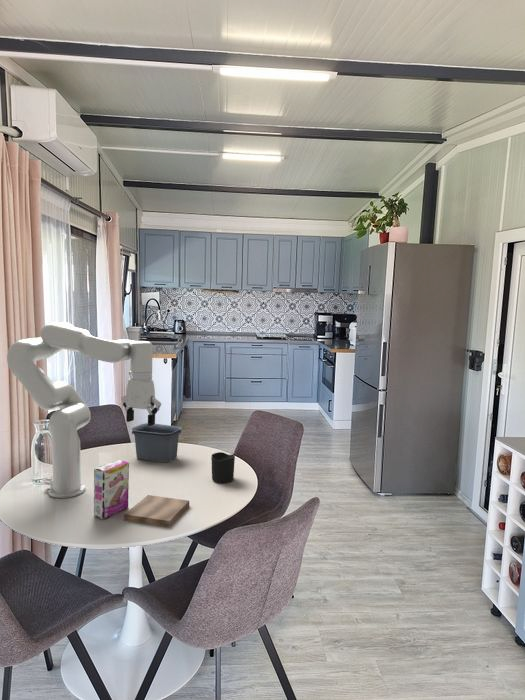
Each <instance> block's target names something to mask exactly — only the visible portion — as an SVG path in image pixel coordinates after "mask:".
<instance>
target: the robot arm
mask: <svg viewBox="0 0 525 700" xmlns="http://www.w3.org/2000/svg"><path fill="white" fill-rule="evenodd" d="M39 332H40V333H39V336H40V337H31V338H25V339H24V338H23V339H20V340H16V341H15V342H13V343H12V344H11V345H10V346H9V348H8V350H7V354H6V361H7V362H6V363H7V366H8V368H9V370H10V371H11V373H12V374H13V376H15V378H16V379H17V380H18V381H19V382H20V383H21V384H22V386H23V388H24V389H25V390H26V391H27V393H28V394H29V395H30V397H31V398H32V400H33V401H34V402H35V403H36V405H37V406H38V407H39V408H40V409H41V410H44V411H50V410H51V411H52V410H54V409H57V408H58V409H57V410H56V411H55V412H53V413H52V414H51V416H50V418H49V421H48V426H49V432H50V433H49V434H50V436H51V449H52V451H51V452H52V477H50V476H49V477H47V478H46V480H45V481H44V484H45V486H50V487H49V489H48V495H49V496H50V497H52V498H55V499H56V498H57V499H68V498H73V497H76V496H80V495H81V494H83V493H84V492H85V490H86V485H85V484H84V483H82V480H81V478H82V477H81V476H82V475H81V473H82V472H81V470H82V469H81V464H82V463H81V440H80V437H79V434H78V430H80V429H81V428H83V427H85V426H86V425H88V423H90V421H91V417H92V416H91V415H92V413H91V410H90V408H89V406H88V404H86V402H85V400H84V399H83V398H82V397H81V396H80V394H79V393H78V391H77V390H76V388H74V386H73V385H71V384H70V383H68V382H67V381H63V380H57V381H52V379H50V377H49V376H48V375H47V374H46V372H45V371H44V370H43V369H42V368H41V367H40V366H38V365H37V364H35V362H37V361H42V360H43V361H44V360H47V359H48V358H50V357H52V356H54V355H55V354H58V353H59V352H61V351H62V350H67V351H71V352H74V353H80V354H81V355H83V356H85V357H87V358H90V359H93V360H96V361H101V362H106V363H111V364H113V363H115V364H116V363H119V362H123V361H127V360H130V365H129V366H130V368H129V369H130V371H128V375H129V376H130V377H129V378H128V381H127V383H126V390H125V395H123V396H122V397H120V399H121V402H122V406H123V407H124V410H125V411H126V416H125V418H126V423H130V422H132V421H135V410H134V409H139V410H146V411H147V413H148V414H147V423H148V426H151V425H154V424H156V414H157V413H158V412H159V411H160V409H161V406H162V403H161V402H160V400H158V399H157V398H156V392H155V391H156V390H155V383H154V380H153V348H154V347H153V346H154V345H153V343H152V342H150V341H148V340H147V341H146V340H131V339H123V338H122V339H116V340H110V339H109V340H108V339H103V338H99V337H96V336H93V335H91V332H90V331H89V330H87V329H84V328H80V327H75V326H74V325H73V324H72V323H69V322H65V321H62V322H61V321H59V322H50V323H49V322H48V323H46V324H45V325H44V326H42V328H41V330H40V331H39Z"/></svg>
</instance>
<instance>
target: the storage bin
mask: <svg viewBox="0 0 525 700" xmlns="http://www.w3.org/2000/svg"><path fill="white" fill-rule="evenodd" d="M182 428H183V427H181V426H176V425H169V424H159V423H155V424H154V425H151V426H148V422H147V423H146V422H145V423H141V424H138V425H136V426H133V427H131V428H130V430H131V434H132V435H133V436H134V444H135V454H136V459H138V460H144V461H150V462H151V461H152V462H158V463H163V464H164V463H165V464H166V463H167V464H168V463H170V462H172V461H173V460H175V459H176V458H177V457H178V446H179V437H180V436H179V435H180V434H182Z"/></svg>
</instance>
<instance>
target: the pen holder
mask: <svg viewBox="0 0 525 700" xmlns="http://www.w3.org/2000/svg"><path fill="white" fill-rule="evenodd" d="M210 457H211V480H212V482H214V483H216V482H217V483H216V484H229V483H231V482H233V481H234V476H235V475H234V474H235V461H236V460H235V459H236V458H235V457H236V456H235V454H233V453H232V454H228V453H226V452H223V451H222V452H221V451H220V452H219V451H218V452H214V453H213V454H211V456H210ZM228 482H229V483H228Z"/></svg>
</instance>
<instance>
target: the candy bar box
mask: <svg viewBox="0 0 525 700" xmlns="http://www.w3.org/2000/svg"><path fill="white" fill-rule="evenodd" d="M93 471H94V472H93V517H96V518H99V519H101V520H105V519H107V518H109V517H112V516H114V515H116V514H118V513H120V512H121V511H125V510H126V509H129V489H130V487H129V486H130V485H129V482H130V481H129V477H130V475H129V474H130V462H127V461H124V460H122V459H119V460H116V461H112V462H109V463H106V464H104V465H101V466H98V467H94V468H93Z"/></svg>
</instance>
